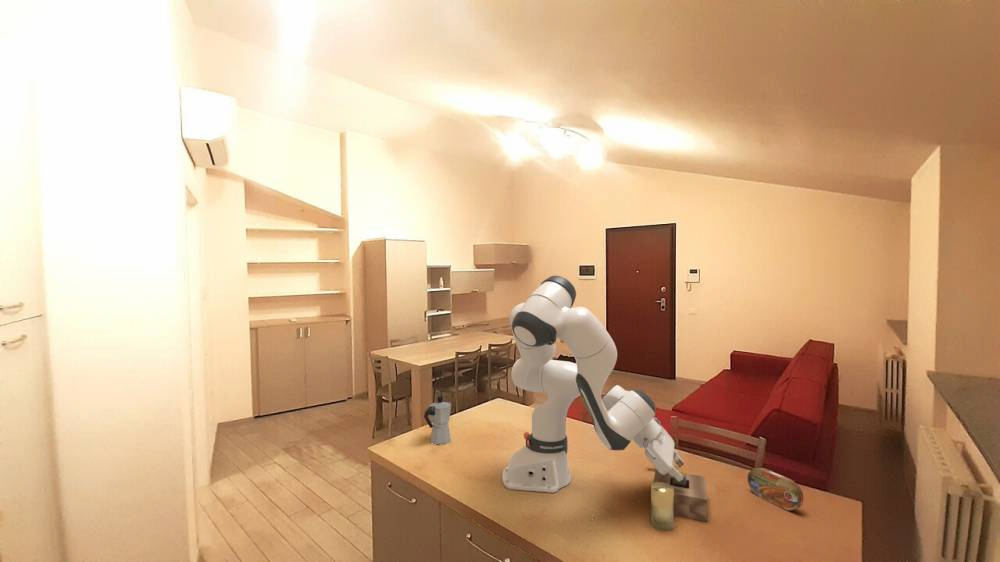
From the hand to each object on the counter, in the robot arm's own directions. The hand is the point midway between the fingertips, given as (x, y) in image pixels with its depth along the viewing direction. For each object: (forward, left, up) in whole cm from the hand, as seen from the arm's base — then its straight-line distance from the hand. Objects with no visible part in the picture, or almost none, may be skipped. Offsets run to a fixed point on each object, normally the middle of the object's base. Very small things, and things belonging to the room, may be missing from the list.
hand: (681, 471), depth 124 cm
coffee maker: (-77, +47, -10) cm, 91 cm away
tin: (+27, 0, -10) cm, 29 cm away
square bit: (-1, 0, -9) cm, 9 cm away
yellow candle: (-10, -10, -9) cm, 17 cm away
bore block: (-1, 0, -9) cm, 9 cm away
